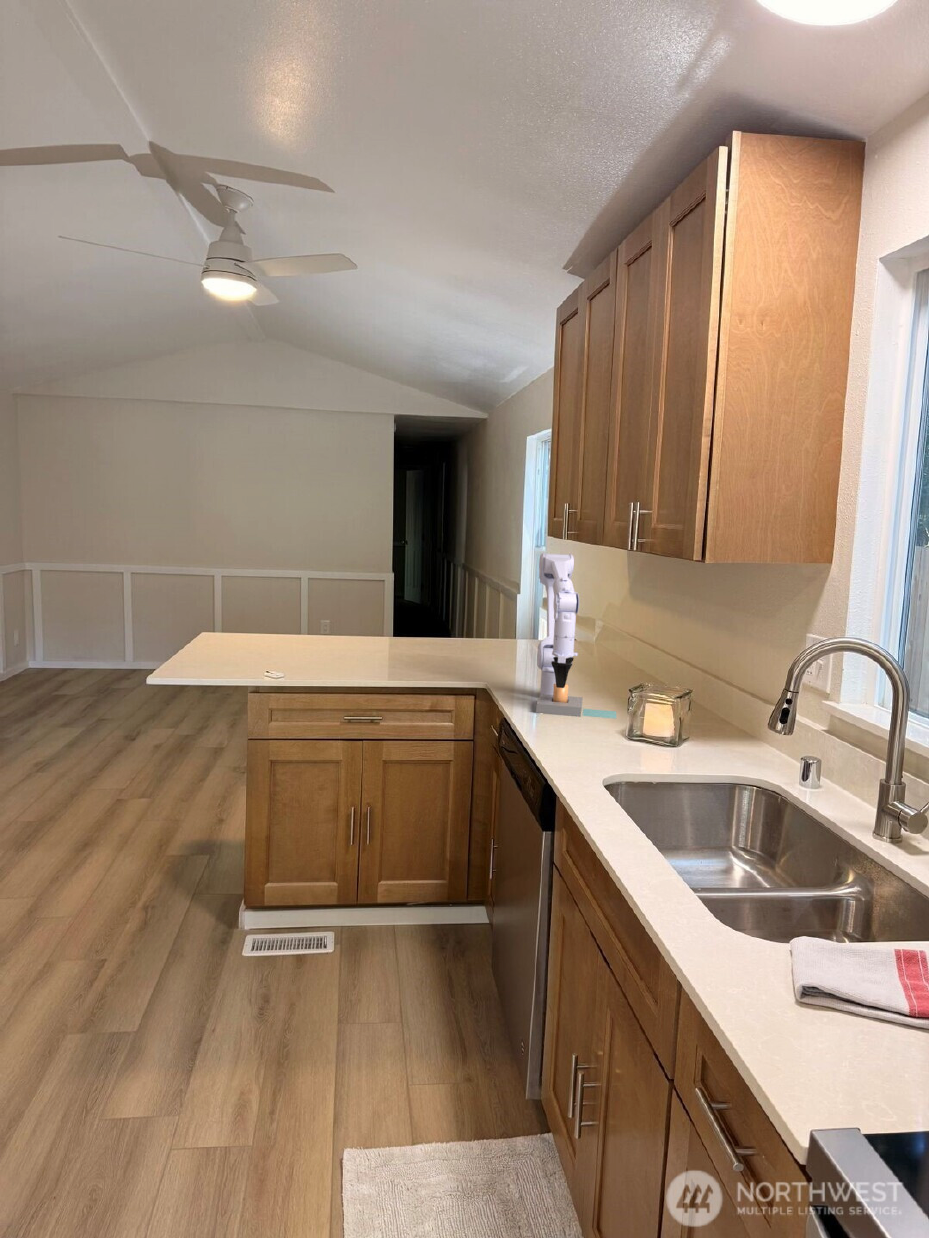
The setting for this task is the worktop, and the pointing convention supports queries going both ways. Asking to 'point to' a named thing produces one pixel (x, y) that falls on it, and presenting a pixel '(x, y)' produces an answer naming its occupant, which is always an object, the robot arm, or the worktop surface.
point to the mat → (599, 713)
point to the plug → (560, 694)
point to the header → (559, 706)
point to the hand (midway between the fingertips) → (561, 685)
